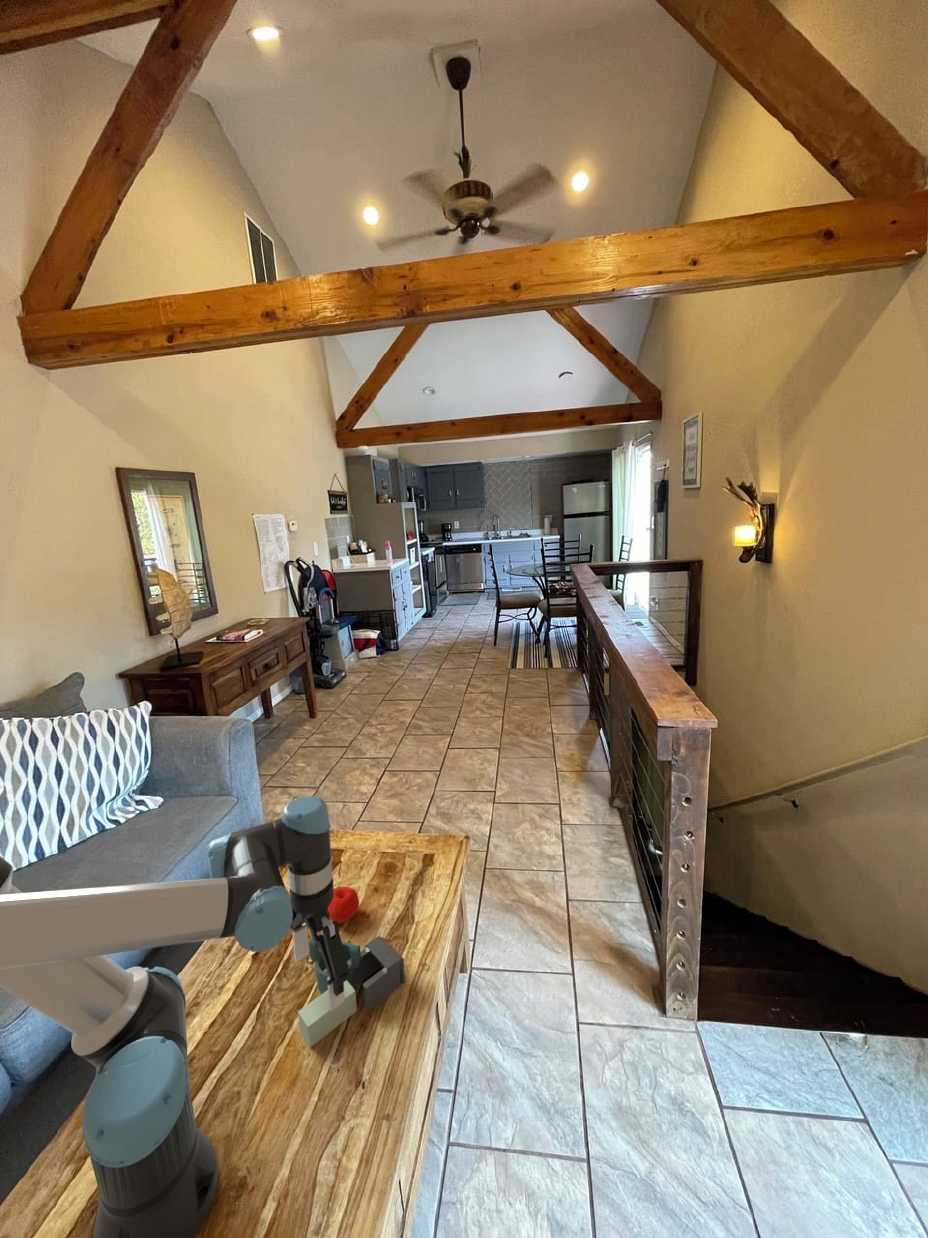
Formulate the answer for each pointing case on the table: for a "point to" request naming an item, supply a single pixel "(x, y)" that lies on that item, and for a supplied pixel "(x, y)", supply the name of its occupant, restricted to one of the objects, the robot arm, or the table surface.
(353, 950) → the bracket
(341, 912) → the apple
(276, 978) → the table surface
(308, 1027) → the block
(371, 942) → the endcap
